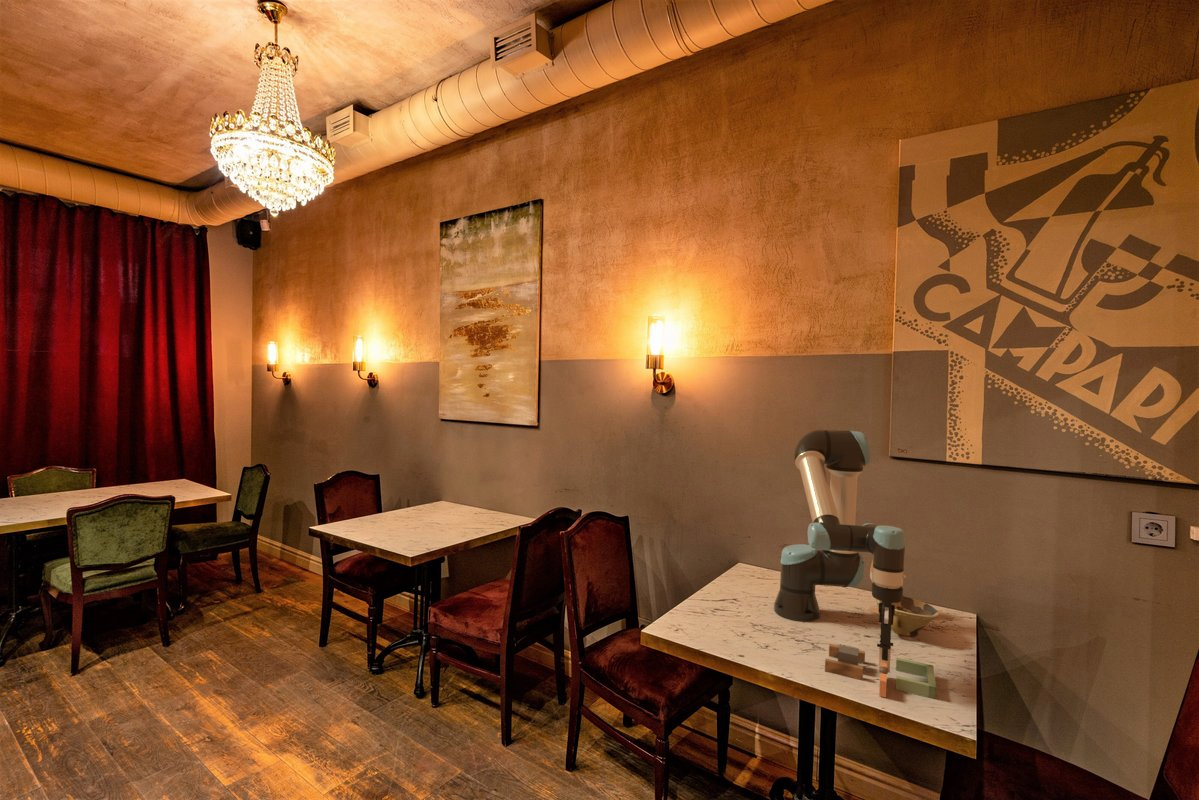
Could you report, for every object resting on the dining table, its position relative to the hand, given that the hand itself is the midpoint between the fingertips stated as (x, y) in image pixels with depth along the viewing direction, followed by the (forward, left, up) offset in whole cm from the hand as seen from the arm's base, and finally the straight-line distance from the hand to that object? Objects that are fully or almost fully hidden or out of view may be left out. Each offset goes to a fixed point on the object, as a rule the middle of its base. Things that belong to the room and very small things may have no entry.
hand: (884, 670), depth 155 cm
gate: (0, -6, -2) cm, 7 cm away
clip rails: (-10, +1, -2) cm, 10 cm away
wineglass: (-2, +53, -2) cm, 53 cm away
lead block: (-9, +1, -2) cm, 9 cm away
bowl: (+6, +37, -2) cm, 38 cm away
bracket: (+7, +1, -2) cm, 8 cm away
